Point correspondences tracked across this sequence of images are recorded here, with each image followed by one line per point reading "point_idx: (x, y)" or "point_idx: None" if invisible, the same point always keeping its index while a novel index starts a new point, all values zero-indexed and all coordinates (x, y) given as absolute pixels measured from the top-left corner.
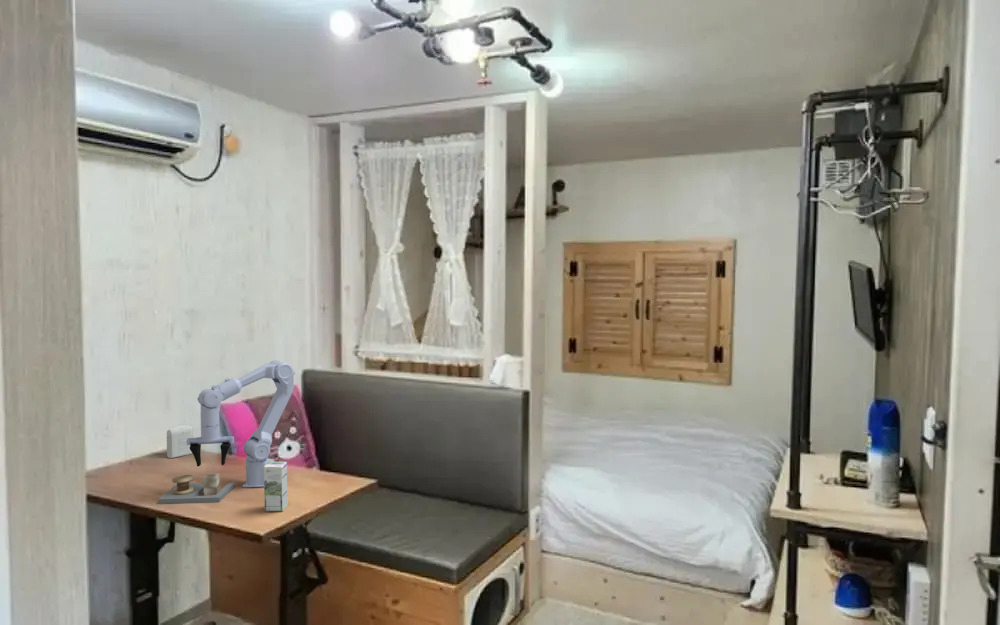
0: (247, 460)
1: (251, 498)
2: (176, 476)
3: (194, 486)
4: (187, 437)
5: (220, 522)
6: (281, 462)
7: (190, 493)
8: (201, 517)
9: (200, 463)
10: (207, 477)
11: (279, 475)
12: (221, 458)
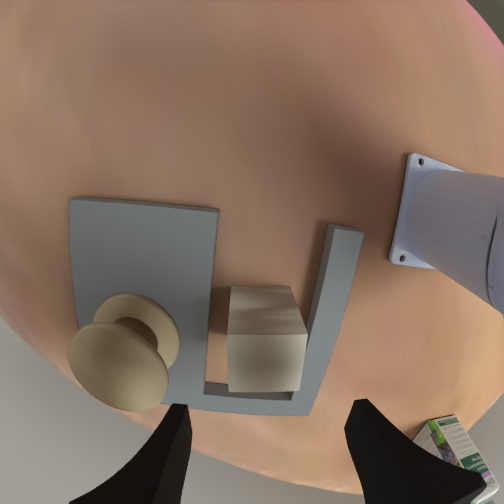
0: (491, 297)
1: (403, 378)
2: (70, 341)
3: (159, 266)
4: None
5: (316, 485)
6: (487, 498)
7: (179, 364)
8: (271, 473)
9: (187, 419)
10: (248, 385)
11: None
12: (357, 470)
